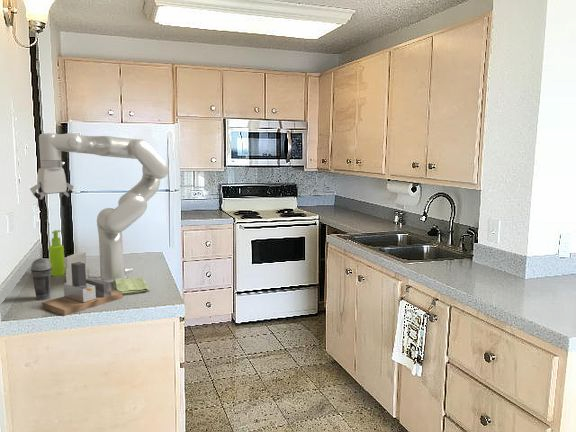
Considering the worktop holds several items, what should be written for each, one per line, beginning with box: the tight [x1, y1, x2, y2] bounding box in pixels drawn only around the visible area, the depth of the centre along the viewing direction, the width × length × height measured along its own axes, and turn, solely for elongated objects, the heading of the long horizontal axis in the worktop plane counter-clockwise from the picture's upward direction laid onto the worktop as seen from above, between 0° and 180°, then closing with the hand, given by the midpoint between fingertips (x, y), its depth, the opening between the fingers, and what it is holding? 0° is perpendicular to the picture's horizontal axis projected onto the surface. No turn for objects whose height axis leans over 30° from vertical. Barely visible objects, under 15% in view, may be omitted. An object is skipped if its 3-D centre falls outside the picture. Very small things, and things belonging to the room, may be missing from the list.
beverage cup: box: [30, 247, 52, 301], centre depth 182 cm, size 7×7×20 cm
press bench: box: [41, 277, 124, 316], centre depth 178 cm, size 24×14×7 cm, turn 146°
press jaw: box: [63, 262, 96, 302], centre depth 176 cm, size 5×13×13 cm, turn 56°
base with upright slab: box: [65, 251, 90, 283], centre depth 205 cm, size 9×9×12 cm
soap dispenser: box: [48, 229, 66, 277], centre depth 216 cm, size 6×7×20 cm
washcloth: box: [112, 276, 150, 296], centre depth 197 cm, size 13×18×3 cm
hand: (53, 207), depth 192 cm, fingers open, 9 cm apart
